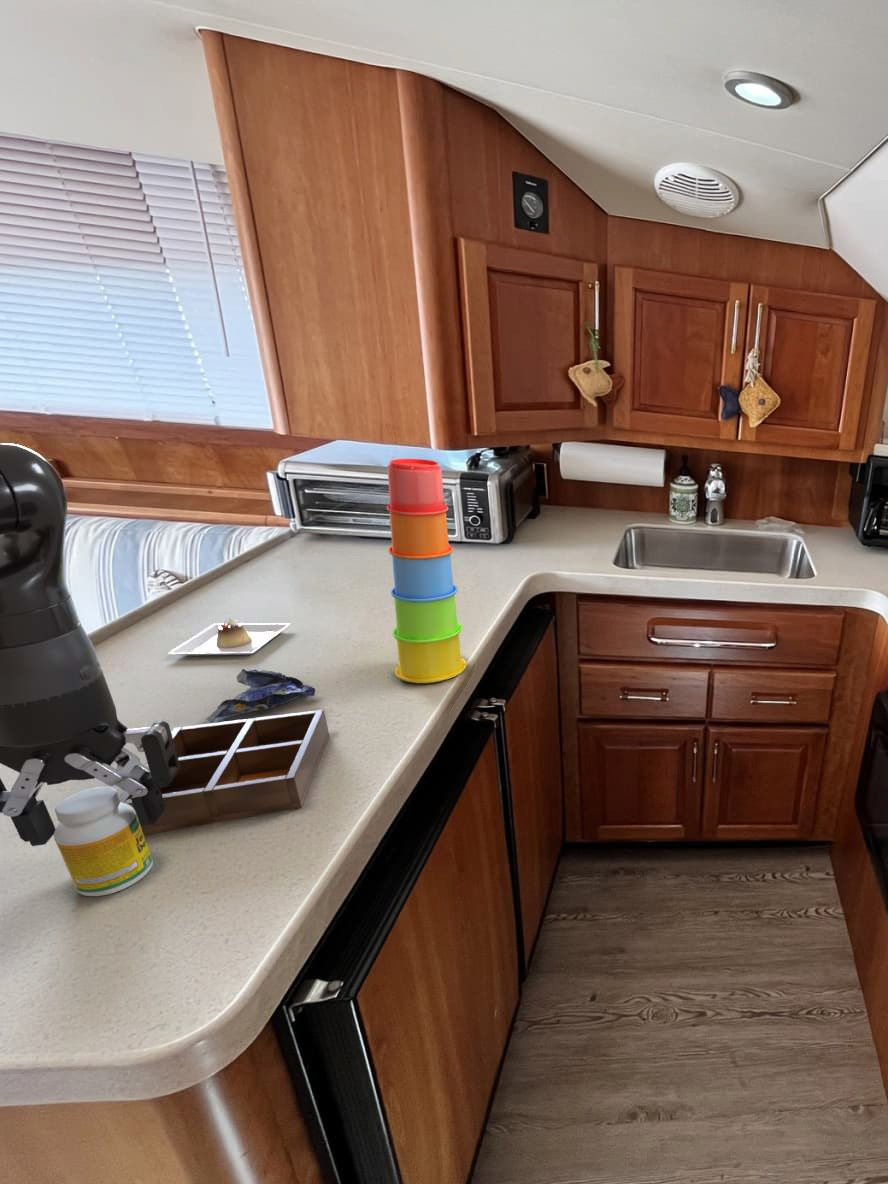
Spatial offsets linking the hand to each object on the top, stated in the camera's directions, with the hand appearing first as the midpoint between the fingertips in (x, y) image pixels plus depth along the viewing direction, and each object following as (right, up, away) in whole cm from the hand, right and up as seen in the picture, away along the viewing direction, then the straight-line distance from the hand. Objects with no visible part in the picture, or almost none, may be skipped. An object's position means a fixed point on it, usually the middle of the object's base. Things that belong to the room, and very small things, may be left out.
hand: (99, 829), depth 61 cm
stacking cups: (+6, +10, +45) cm, 46 cm away
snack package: (-10, +7, +31) cm, 34 cm away
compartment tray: (-1, 0, +16) cm, 16 cm away
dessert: (-29, +15, +47) cm, 58 cm away
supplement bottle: (-1, -6, +2) cm, 6 cm away
